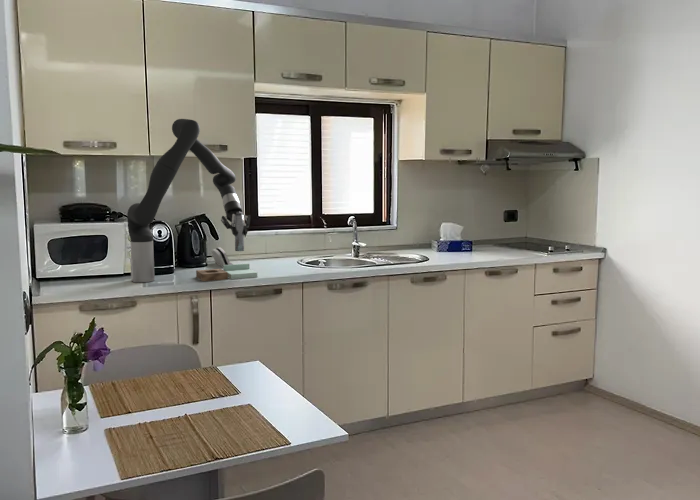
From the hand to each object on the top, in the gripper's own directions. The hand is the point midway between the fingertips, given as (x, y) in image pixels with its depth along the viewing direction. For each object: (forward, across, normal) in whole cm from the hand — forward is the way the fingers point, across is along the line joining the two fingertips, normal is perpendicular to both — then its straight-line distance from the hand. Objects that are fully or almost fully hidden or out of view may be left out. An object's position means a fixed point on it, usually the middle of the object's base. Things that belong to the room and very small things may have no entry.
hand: (240, 234), depth 281 cm
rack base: (+12, 0, +15) cm, 19 cm away
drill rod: (+4, 0, +7) cm, 8 cm away
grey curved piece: (-11, +1, +38) cm, 40 cm away
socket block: (+12, -13, +15) cm, 23 cm away
